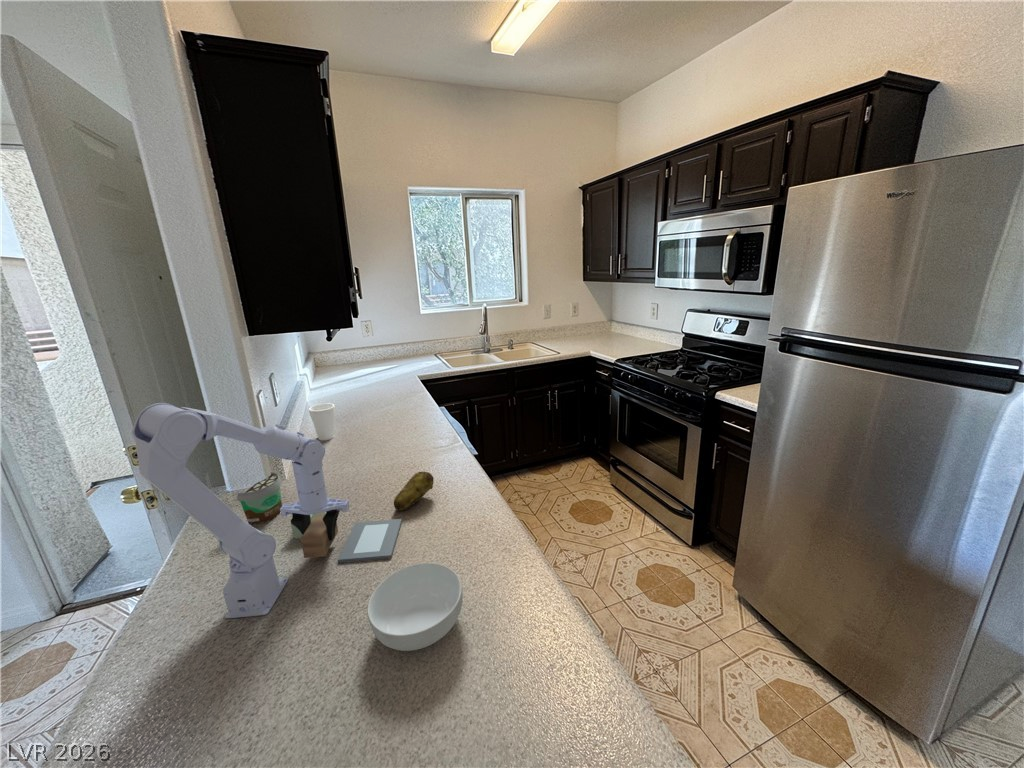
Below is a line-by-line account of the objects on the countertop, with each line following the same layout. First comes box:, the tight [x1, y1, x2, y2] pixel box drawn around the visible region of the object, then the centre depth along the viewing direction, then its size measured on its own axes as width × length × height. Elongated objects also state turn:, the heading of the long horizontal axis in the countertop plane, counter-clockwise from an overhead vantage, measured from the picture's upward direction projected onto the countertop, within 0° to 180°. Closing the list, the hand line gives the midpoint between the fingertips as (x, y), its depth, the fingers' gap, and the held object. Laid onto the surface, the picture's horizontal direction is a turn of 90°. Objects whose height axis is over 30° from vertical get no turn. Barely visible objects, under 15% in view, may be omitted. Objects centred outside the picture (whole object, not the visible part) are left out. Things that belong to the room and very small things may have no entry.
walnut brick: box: [300, 515, 339, 559], centre depth 93 cm, size 9×4×5 cm, turn 5°
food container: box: [236, 471, 283, 525], centre depth 109 cm, size 12×6×10 cm, turn 168°
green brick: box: [290, 512, 326, 539], centre depth 104 cm, size 9×4×5 cm, turn 5°
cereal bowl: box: [367, 562, 463, 652], centre depth 73 cm, size 17×17×7 cm
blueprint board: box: [337, 518, 403, 563], centre depth 98 cm, size 14×12×1 cm
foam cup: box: [308, 402, 336, 441], centre depth 160 cm, size 10×9×13 cm
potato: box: [393, 471, 435, 512], centre depth 113 cm, size 8×13×8 cm, turn 126°
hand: (321, 538), depth 93 cm, fingers closed on walnut brick, 4 cm apart
